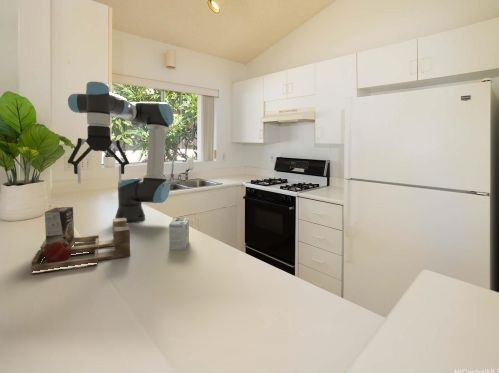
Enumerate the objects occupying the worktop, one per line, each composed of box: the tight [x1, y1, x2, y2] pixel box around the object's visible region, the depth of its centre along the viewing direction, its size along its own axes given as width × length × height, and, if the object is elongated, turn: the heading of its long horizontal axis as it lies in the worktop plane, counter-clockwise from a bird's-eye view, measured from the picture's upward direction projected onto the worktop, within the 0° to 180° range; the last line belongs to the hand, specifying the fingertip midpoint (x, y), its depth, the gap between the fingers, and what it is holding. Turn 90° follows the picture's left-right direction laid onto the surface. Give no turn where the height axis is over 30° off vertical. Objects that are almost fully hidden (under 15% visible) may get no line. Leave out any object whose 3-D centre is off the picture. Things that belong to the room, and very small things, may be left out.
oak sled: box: [40, 218, 128, 252], centre depth 110 cm, size 28×13×10 cm, turn 118°
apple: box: [44, 241, 72, 263], centre depth 94 cm, size 7×8×8 cm
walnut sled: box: [30, 225, 131, 273], centre depth 98 cm, size 28×13×10 cm, turn 118°
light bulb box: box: [168, 217, 190, 251], centre depth 116 cm, size 11×7×11 cm, turn 5°
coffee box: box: [44, 206, 76, 247], centre depth 106 cm, size 9×6×16 cm
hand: (100, 182), depth 106 cm, fingers open, 13 cm apart
